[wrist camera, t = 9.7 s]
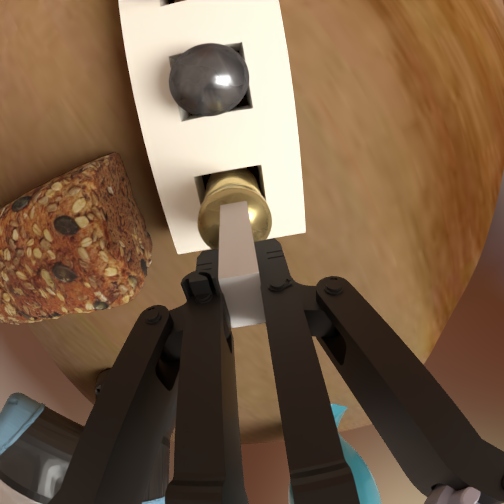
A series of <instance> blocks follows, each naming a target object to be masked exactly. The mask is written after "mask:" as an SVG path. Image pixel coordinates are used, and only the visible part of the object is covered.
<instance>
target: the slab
mask: <svg viewBox="0 0 504 504" xmlns="http://www.w3.org/2000/svg"><path fill="white" fill-rule="evenodd" d="M118 2H119V11H120V19H121V26H122V33H123V40H124V46H125V52H126V58H127V63H128V69H129V74H130V79H131V84H132V89H133V94H134V99H135V104H136V108H137V113H138V117H139V121H140V126H141V130H142V134H143V138H144V142H145V146H146V150H147V154H148V157H149V161H150V165H151V169H152V172H153V176H154V179H155V183H156V186H157V190H158V193H159V197H160V200H161V203H162V207H163V210H164V213H165V216H166V220H167V223H168V226H169V229H170V232H171V235H172V238H173V241H174V244H175V247H176V250H177V253H178V254H183V253H189V252H195V251H200V250H206V249H211V248H210V247H209V246H207V245H206V243H205V242H204V241H203V240H202V238H201V236H200V234H199V231H198V224H197V222H198V214H199V210H200V207H201V204H202V202H203V201H204V198H205V188H204V184H203V179H202V175H206V174H211V173H216V172H221V171H227V170H232V169H238V168H244V167H250V166H256V165H257V167H258V174H259V181H260V188H261V195H262V196H263V197H264V199H265V200H266V202H267V204H268V207H269V209H270V212H271V216H272V227H271V231H270V234H269V236H268V238H267V239H270V238H275V237H281V236H287V235H293V234H299V233H305V232H306V229H305V211H304V196H303V182H302V170H301V158H300V148H299V138H298V128H297V119H296V110H295V102H294V94H293V86H292V79H291V72H290V65H289V58H288V52H287V46H286V39H285V34H284V28H283V22H282V17H281V11H280V6H279V1H278V0H185V1H181V2H176V3H172V4H169V2H168V0H118ZM205 43H217V44H222V45H225V46H228V47H230V48H232V49H233V50H235V51H239V53H240V55H241V57H242V58H243V59H244V61H245V63H246V65H247V67H248V71H249V85H248V89H247V92H246V95H247V102H248V105H246V106H240V107H234V108H232V109H231V110H229V111H227V112H225V113H223V114H220V115H216V116H198V115H192V116H189V114H188V112H187V111H185V110H184V109H182V108H181V107H180V106H179V105H178V104H177V103H176V102H175V100H174V99H173V97H172V95H171V92H170V89H169V75H170V71H171V68H172V66H173V64H174V63H175V61H176V60H177V59H178V57H179V56H180V55H181V54H182V53H184V52H185V51H186V50H188V49H190V48H192V47H194V46H197V45H200V44H205Z"/></svg>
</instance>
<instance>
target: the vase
mask: <svg viewBox="0 0 504 504" xmlns="http://www.w3.org/2000/svg"><path fill="white" fill-rule="evenodd" d="M331 407H332V411H333V415H334V419H335V423H336V426H337V428H338V425H339V422H340V420H341V418H342V417H343V414H344V413H345V411H346V409H347V407H344V406H340V405H336V404H331ZM338 434H339V432H338ZM339 438H340V442H341V446H342V450H343V454H344V458H345V460H346V462H347V464H348V465H349V466H350V468H351V471H352V473H353V476H354V480H355V484H356V488H357V493H358V497H359V501H360V504H381V500H380V494H379V491H378V487H377V484H376V482H375V480H374V478H373V476H372V474H371V472H370V470H369V468H368V467H367V465H366V464H365V462H364V460H363V459H362V458H361V456H360V455H359V454H358V453H357V452H356V450H354V448H353V447H352V446H351V445H350V444H349V443H348V442H347V441H346V440H344V439H343V438H342V437H341V435H340V434H339ZM288 500H289V504H294V499H293V492H292V486H291V479H290V484H289V495H288Z"/></svg>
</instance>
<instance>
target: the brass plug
mask: <svg viewBox="0 0 504 504" xmlns="http://www.w3.org/2000/svg"><path fill="white" fill-rule="evenodd" d="M242 201H247V206H248V211H249V217H250V223H251V229H252V234H253V240H254V242H255V241H261V240H266V239H267V238H268V236H269V234H270V231H271V227H272V216H271V212H270V209H269V207H268V204H267V202H266V200H265V199H264V197H263V196H262V195H261V193H260V190H259V187H258V184H257V181H256V179H255V177H254V175H253V174H252V173H251V172H250V171H249V170H247V169H246V168H238V169H232V170H227V171H221V172H216V173H213V174H212V175H211V176H210V178H209V180H208V182H207V186H206V192H205V198H204V201H203V202H202V204H201V207H200V210H199V214H198V222H197V224H198V231H199V234H200V236H201V238H202V240H203V241H204V242H205V243H206V245H207V246H209V247H210V248H211V249H219V229H220V205H225V204H230V203H236V202H242Z"/></svg>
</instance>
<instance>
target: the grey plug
mask: <svg viewBox="0 0 504 504" xmlns="http://www.w3.org/2000/svg"><path fill="white" fill-rule="evenodd" d="M248 85H249V71H248V67H247V65H246V63H245V61H244V59H243V58H242V57H241V55H240V54H239V53H237V52H236V51H235V50H233V49H232V48H230V47H228V46H225V45H222V44H217V43H205V44H200V45H197V46H194V47H192V48H190V49H188V50H186V51H185V52H184V53H182V54H181V55H180V56H179V57H178V59H177V60H176V61H175V63H174V64H173V66H172V68H171V71H170V75H169V89H170V92H171V95H172V97H173V99H174V100H175V102H176V103H177V104H178V105H179V106H180V107H181V108H182V109H184V110H185V111H187V112H189V113H191V114H194V115H198V116H216V115H220V114H223V113H225V112H227V111H229V110H231V109H232V108H234V107H235V106H236V105H237V104H238V103H239V102H240V101H241V100H242V99H243V97H244V95H245V94H246V92H247V89H248Z"/></svg>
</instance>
